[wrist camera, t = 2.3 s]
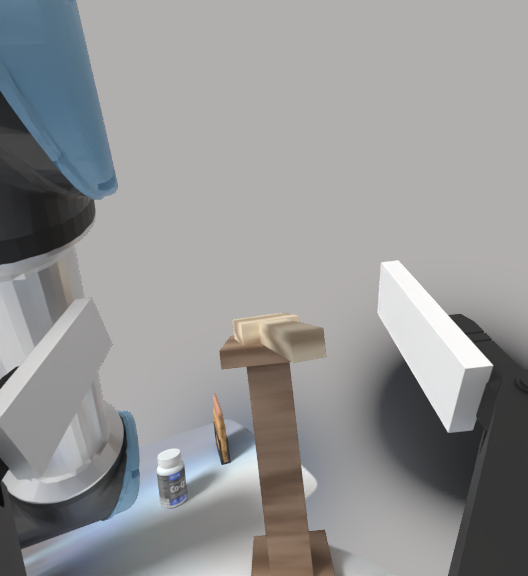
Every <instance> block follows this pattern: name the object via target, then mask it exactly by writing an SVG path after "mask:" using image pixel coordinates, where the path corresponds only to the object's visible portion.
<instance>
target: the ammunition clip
mask: <svg viewBox="0 0 528 576" xmlns="http://www.w3.org/2000/svg"><path fill="white" fill-rule="evenodd" d="M213 415H214V429H215V438H216V445H217V449H218V452H219V456H220V460H221V464H222V465H223V464H227V463H230V456H229V447H228V439H227V436H226V429H225V424H224V419H223V414H222V410H221V408H220V405H219V402H218V400H217V397H216V395H215V394H214V396H213Z"/></svg>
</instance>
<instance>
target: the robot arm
mask: <svg viewBox="0 0 528 576" xmlns="http://www.w3.org/2000/svg"><path fill="white" fill-rule="evenodd" d="M117 189H118V183H117V179H116V174H115V170H114V166H113V161H112V156H111V152H110V147H109V143H108V138H107V134H106V130H105V125H104V121H103V116H102V112H101V107H100V103H99V99H98V94H97V90H96V86H95V81H94V78H93V73H92V69H91V64H90V60H89V55H88V51H87V46H86V42H85V37H84V33H83V28H82V24H81V20H80V15H79V11H78V7H77V3H76V0H0V576H27V575H26V571H25V566H24V562H23V557H22V553H21V549H24V548H26V547H29V546H32V545H35V544H37V543H40V542H43V541H45V540H48V539H51V538H54V537H56V536H59V535H62V534H65V533H67V532H70V531H73V530H76V529H78V528H81V527H84V526H86V525H89V524H92V523H95V522H97V521H100V520H101V521H105V520H108V519H110V518H112V517H113V516H114V515H115V514H118V513H120V512H123V511H125V510H127V509H129V508H130V507H131V506H132V505H133V504H134V503H135V501H136V499H137V496H138V492H139V484H140V473H139V461H140V459H139V446H138V437H137V430H136V425H135V421H134V418H133V416H132V414H131V413H130V412H128V411H116V409H115V408H114V407H113V406H112V405H110V404H109V403H108V402H106V401H104V400H103V395H102V390H101V385H100V379H99V373H98V371H99V369H100V367H101V365H102V363H103V361H104V359H105V358H106V356H107V354H108V352H109V350H110V348H111V346H112V345H113V344H112V341H111V339H110V337H109V335H108V332H107V330H106V328H105V326H104V323H103V321H102V319H101V317H100V315H99V312H98V310H97V308H96V306H95V304H94V301H93V299H92V298H84V292H83V287H82V281H81V276H80V270H79V266H78V259H77V255H76V249H75V244H76V243H77V242H78V241H80V240H81V239H82V238H83V237H84V236H85V235H86V234H88V232H89V231H90V230H91V228H92V227H93V224H94V222H95V216H96V212H95V204H94V200H97V199H98V200H101V199H103V198H104V197H105V196H108V195H112V194H114V193H115V192H116V191H117ZM378 315H379V317H380V318H381V320H382V322H383V323H384V325H385V327H386V328H387V330H388V332H389V333H390V335H391V337H392V339H393V340H394V342H395V343H396V345H397V347H398V348H399V350H400V352H401V354H402V355H403V357H404V359H405V360H406V362H407V364H408V365H409V367H410V369H411V371H412V372H413V374H414V376H415V377H416V379H417V381H418V382H419V384H420V386H421V387H422V389H423V391H424V392H425V394H426V396H427V398H428V399H429V401H430V403H431V404H432V406H433V408H434V409H435V411H436V413H437V414H438V416H439V418H440V419H441V421H442V423H443V425H444V426H445V428H446V429H447V431H448V433H450V432H459V431H468V430H473V428H474V425H475V421H476V418H478V420H479V421H480V422H481V424H482V425H483V427H484V428H485V430H484V433H483V436H482V438H481V441H480V444H479V447H478V450H479V452H478V456H477V460H476V464H475V468H474V472H473V476H472V480H471V485H470V488H469V492H468V497H467V501H466V505H465V509H464V513H463V517H462V521H461V525H460V529H459V533H458V537H457V541H456V545H455V549H454V553H453V558H452V562H451V566H450V570H449V574H448V576H528V370H524V369H521V368H520V367H519V366H518V365H517V364H516V363H515V362H514V361H513V360H512V359H511V358H510V357H509V356H508V355H507V354H506V353H505V352H504V351H503V350H502V349H501V348H500V347H499V346H498V345H497V344H496V343H495V342H494V341H492V340H491V338H490V337H489V336H488V335H487V334H486V333H484V331H483V330H482V329H481V328H480V327H479V326H478V325H477V324H476V323H475V322H474V321H472V320H471V319H469V318H467V317H465V316H463V315H462V314H455V315H447V314H446V313H445V312H444V311H443V309H442V308H441V307H440V306H439V305H438V304H437V303H436V302H435V300H434V299H433V298H432V297H431V296H430V295H429V294H428V293H427V292H426V291H425V289H424V288H423V287H422V286H421V285H420V284H419V283H418V282H417V281H416V280H415V278H414V277H413V276H412V275H411V274H410V273H409V272H408V271H407V270H406V269H405V267H404V266H403V265H402V264H401V263H400V262H399V261H390V262H382V263H381V271H380V284H379V298H378Z"/></svg>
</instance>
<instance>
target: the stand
mask: <svg viewBox="0 0 528 576" xmlns="http://www.w3.org/2000/svg"><path fill="white" fill-rule="evenodd" d="M220 360H221V368H222V369H230V368H239V367H247V374H248V382H249V391H250V400H251V409H252V417H253V426H254V434H255V443H256V452H257V460H258V469H259V478H260V486H261V495H262V504H263V512H264V521H265V530H266V535H265V536H255V537H254V543H253V558H252V573H251V576H335V575H334V570H333V565H332V561H331V556H330V551H329V547H328V542H327V538H326V533H325V530H318V531H308V523H307V514H306V505H305V496H304V487H303V478H302V469H301V461H300V452H299V444H298V434H297V425H296V416H295V408H294V399H293V390H292V381H291V372H290V363H289V362H291V361H289V360H288V359H286V358H284V357H283V356H281V355H279V354H278V353H276V352H274V351H273V350H271V349H269V348H268V347H266V346H264V345H263V344H261V343H259V344H253V345H247V346H243V345H242V344H241V343H239V342H238V341H237V340H236V339H235V337H234V336H230V338H229V339H228V340H227V342H226V343H225V344H224V346H223V347H222V349H221V350H220Z"/></svg>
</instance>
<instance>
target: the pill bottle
mask: <svg viewBox="0 0 528 576" xmlns="http://www.w3.org/2000/svg"><path fill="white" fill-rule="evenodd" d="M158 465H159V466H158V468H157V477H158V486H159V495H160V503H161V505H162V506H163V507H165V508H174V507H177V506H179V505H181V504H182V503H183V502H184V501H185V500H186V499H187V486H186V477H185V468H184V462H183V461H182V460H181V452H180V450H179V449H168V450H165V451H163V452H161V453H160V454H159V455H158Z"/></svg>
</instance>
